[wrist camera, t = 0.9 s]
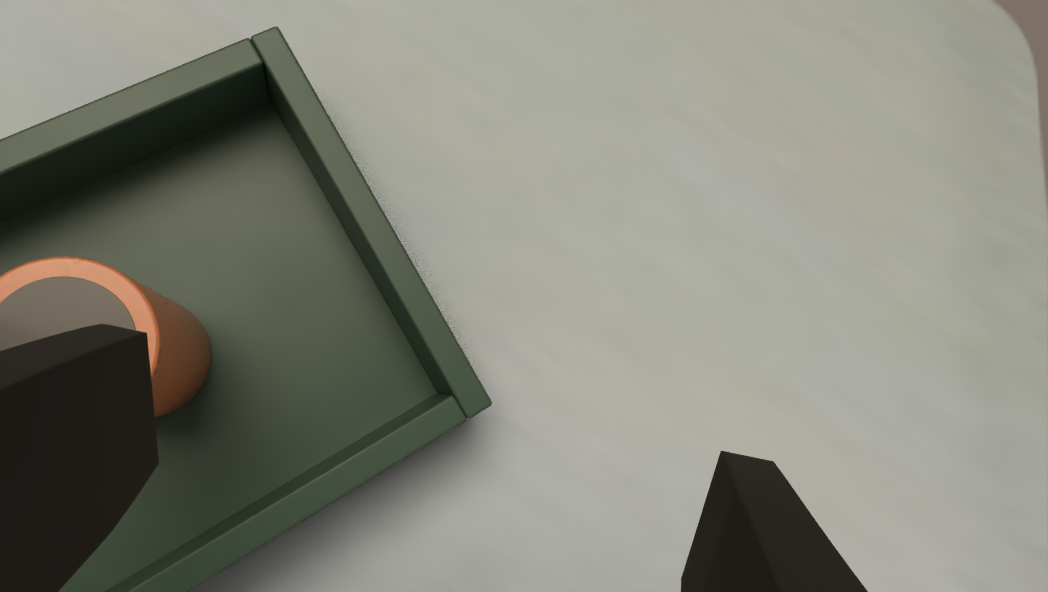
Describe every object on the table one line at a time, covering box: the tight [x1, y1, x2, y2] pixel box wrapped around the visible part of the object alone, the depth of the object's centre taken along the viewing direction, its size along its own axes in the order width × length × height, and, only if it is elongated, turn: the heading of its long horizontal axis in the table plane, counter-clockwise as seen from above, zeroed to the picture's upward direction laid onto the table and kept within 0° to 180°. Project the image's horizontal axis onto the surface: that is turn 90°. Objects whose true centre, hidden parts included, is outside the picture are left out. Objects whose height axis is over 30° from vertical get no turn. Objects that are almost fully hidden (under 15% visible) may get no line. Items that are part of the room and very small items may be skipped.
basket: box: [0, 27, 492, 592], centre depth 20 cm, size 15×12×4 cm
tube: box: [0, 256, 211, 418], centre depth 18 cm, size 3×3×7 cm
